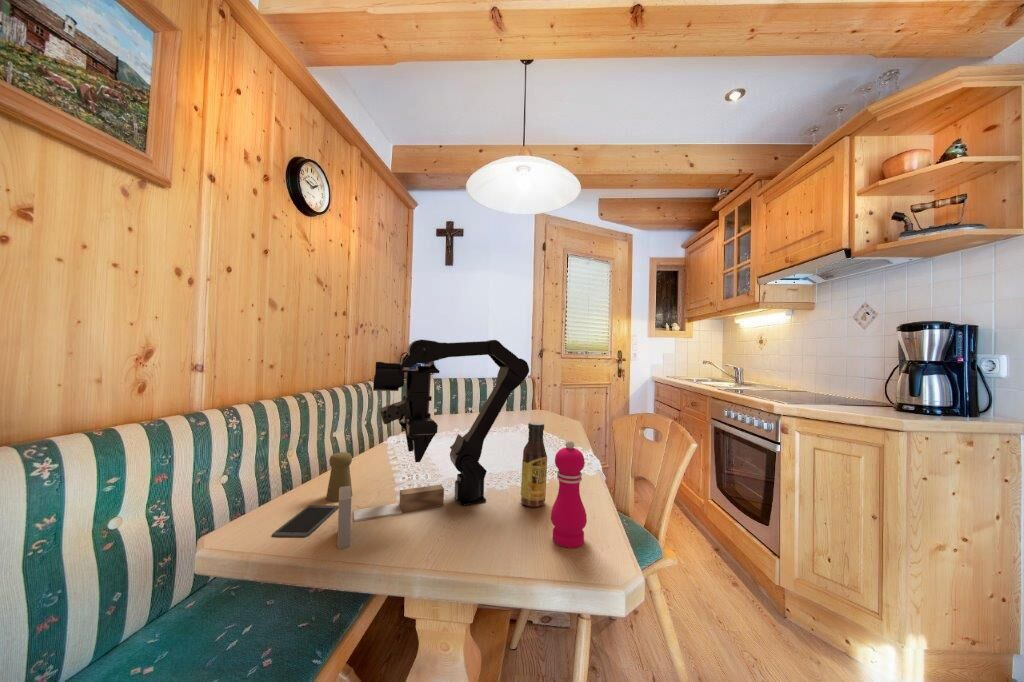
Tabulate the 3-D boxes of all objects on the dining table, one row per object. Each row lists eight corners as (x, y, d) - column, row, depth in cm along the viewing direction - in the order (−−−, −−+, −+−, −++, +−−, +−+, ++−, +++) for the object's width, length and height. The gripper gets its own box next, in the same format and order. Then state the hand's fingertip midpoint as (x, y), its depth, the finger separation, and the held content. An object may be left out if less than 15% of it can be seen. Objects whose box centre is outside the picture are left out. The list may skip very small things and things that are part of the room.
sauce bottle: (532, 510, 84) (534, 427, 84) (515, 502, 89) (517, 422, 89) (551, 503, 88) (553, 423, 89) (533, 495, 93) (535, 419, 93)
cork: (341, 503, 86) (343, 457, 86) (320, 500, 87) (322, 455, 87) (357, 493, 92) (359, 450, 92) (337, 491, 93) (338, 449, 93)
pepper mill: (543, 534, 73) (545, 437, 74) (573, 528, 76) (575, 435, 77) (562, 552, 66) (564, 446, 67) (593, 545, 69) (595, 443, 70)
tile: (349, 529, 73) (350, 485, 74) (349, 546, 67) (351, 498, 67) (337, 531, 72) (339, 487, 73) (337, 549, 66) (338, 500, 66)
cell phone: (340, 508, 84) (340, 505, 84) (306, 539, 70) (307, 535, 70) (309, 507, 84) (309, 504, 84) (269, 538, 70) (269, 535, 70)
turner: (439, 498, 90) (440, 482, 90) (444, 506, 85) (445, 490, 85) (353, 512, 81) (354, 494, 81) (354, 522, 77) (354, 503, 77)
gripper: (379, 387, 90) (375, 448, 90) (387, 396, 73) (382, 472, 73) (422, 387, 95) (419, 445, 94) (440, 396, 78) (435, 467, 78)
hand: (413, 456), depth 85 cm, fingers open, 9 cm apart
